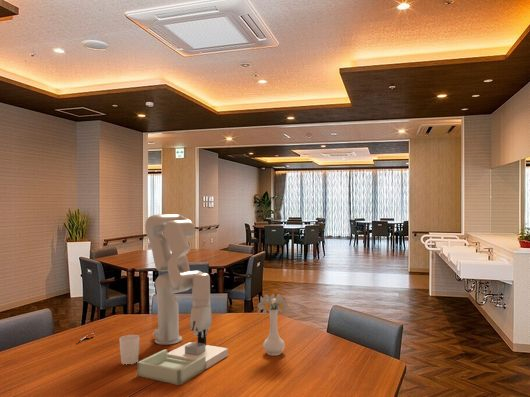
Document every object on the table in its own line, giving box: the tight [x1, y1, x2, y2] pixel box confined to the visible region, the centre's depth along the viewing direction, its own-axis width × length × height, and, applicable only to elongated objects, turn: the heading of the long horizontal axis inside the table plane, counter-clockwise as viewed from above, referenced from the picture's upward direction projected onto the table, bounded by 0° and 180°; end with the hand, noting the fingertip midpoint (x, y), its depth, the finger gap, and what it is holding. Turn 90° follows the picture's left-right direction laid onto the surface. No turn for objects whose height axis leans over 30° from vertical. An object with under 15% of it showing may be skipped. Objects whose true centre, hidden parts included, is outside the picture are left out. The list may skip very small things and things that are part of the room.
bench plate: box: [167, 341, 229, 370], centre depth 177 cm, size 20×16×3 cm
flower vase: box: [257, 293, 288, 357], centre depth 183 cm, size 13×18×25 cm
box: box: [136, 349, 207, 386], centre depth 163 cm, size 20×16×5 cm
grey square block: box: [185, 341, 206, 356], centre depth 176 cm, size 6×6×3 cm
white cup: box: [118, 334, 140, 366], centre depth 174 cm, size 8×8×10 cm
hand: (202, 345), depth 180 cm, fingers closed
